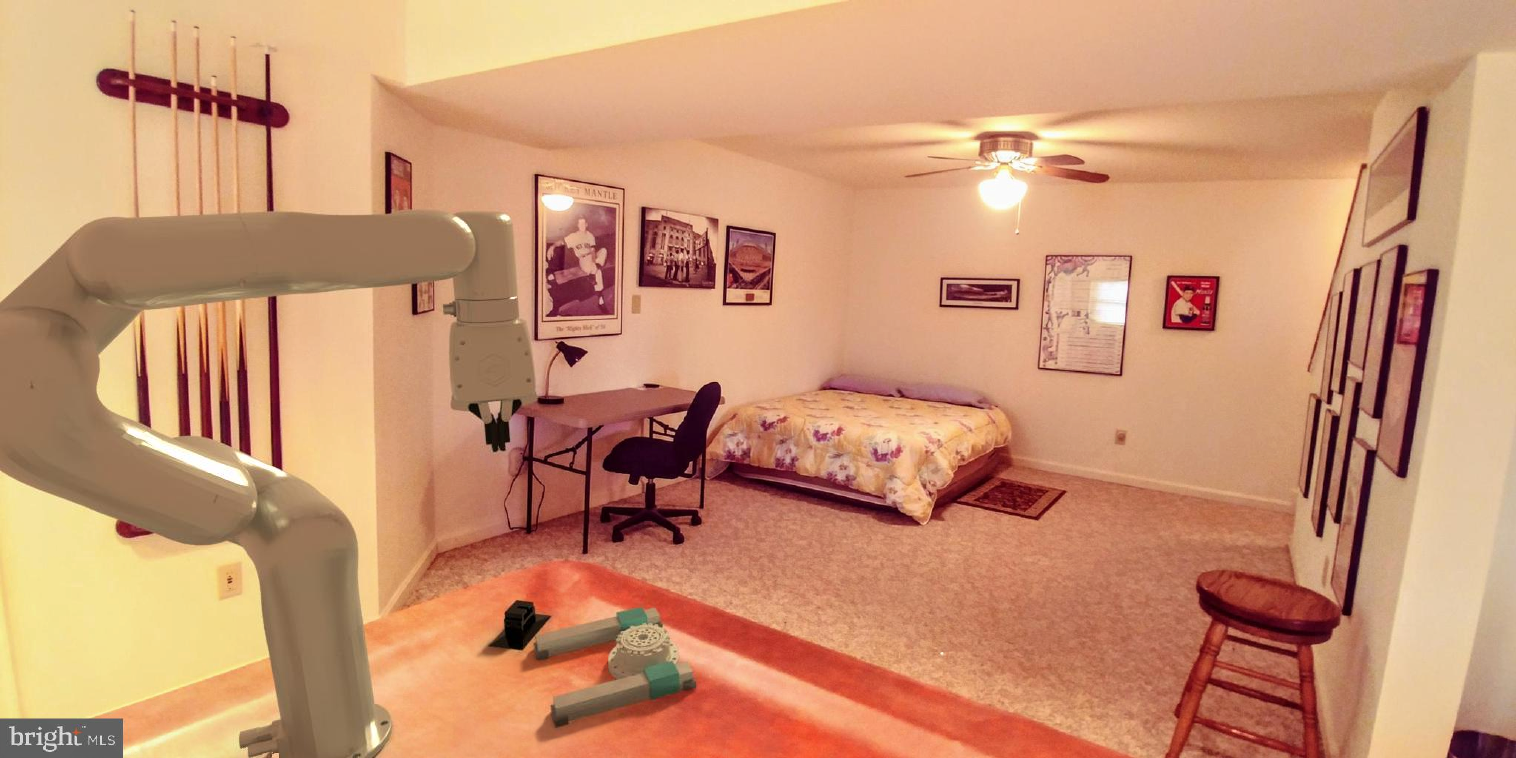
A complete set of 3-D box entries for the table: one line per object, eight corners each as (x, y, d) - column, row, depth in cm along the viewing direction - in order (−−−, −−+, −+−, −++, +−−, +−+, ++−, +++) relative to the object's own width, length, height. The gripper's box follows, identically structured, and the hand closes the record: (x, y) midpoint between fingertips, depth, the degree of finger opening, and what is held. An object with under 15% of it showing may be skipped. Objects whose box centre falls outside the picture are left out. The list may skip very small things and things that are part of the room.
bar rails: (555, 727, 91) (553, 707, 91) (533, 648, 107) (532, 631, 107) (696, 687, 99) (695, 668, 98) (656, 619, 115) (656, 602, 114)
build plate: (522, 661, 105) (519, 633, 104) (476, 654, 107) (473, 627, 106) (561, 614, 117) (559, 588, 116) (519, 609, 119) (516, 583, 118)
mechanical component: (597, 683, 100) (668, 690, 99) (596, 654, 99) (667, 661, 98) (622, 640, 110) (687, 647, 108) (621, 614, 109) (686, 620, 107)
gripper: (423, 318, 87) (437, 465, 91) (552, 312, 93) (560, 450, 97) (423, 310, 93) (436, 447, 98) (544, 304, 99) (552, 434, 104)
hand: (498, 448), depth 97 cm, fingers closed
